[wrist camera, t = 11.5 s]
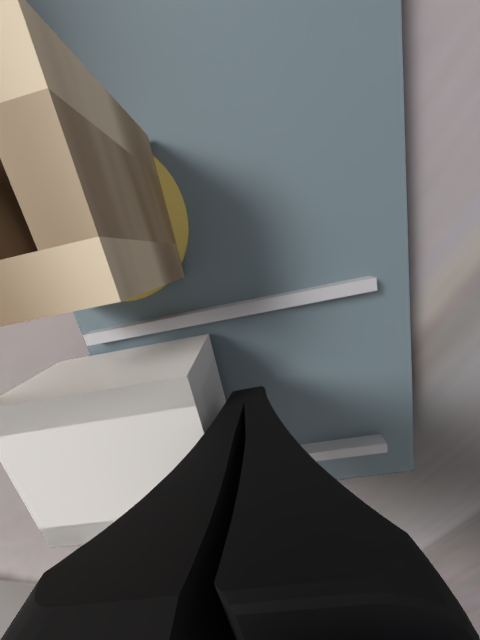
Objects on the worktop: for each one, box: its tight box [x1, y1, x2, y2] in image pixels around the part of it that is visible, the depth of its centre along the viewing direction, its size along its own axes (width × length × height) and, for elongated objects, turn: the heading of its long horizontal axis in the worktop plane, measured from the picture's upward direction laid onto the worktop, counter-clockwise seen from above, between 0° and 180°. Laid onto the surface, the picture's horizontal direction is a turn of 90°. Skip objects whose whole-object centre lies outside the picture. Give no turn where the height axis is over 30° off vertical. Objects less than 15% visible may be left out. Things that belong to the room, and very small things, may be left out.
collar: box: [0, 0, 185, 327], centre depth 7 cm, size 5×5×5 cm
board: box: [26, 0, 415, 480], centre depth 9 cm, size 14×22×4 cm, turn 12°
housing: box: [0, 334, 226, 548], centre depth 10 cm, size 7×6×4 cm
